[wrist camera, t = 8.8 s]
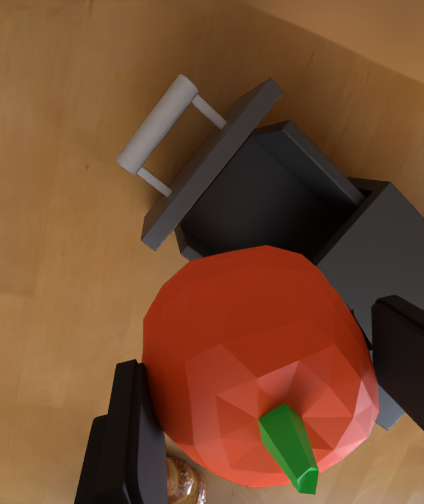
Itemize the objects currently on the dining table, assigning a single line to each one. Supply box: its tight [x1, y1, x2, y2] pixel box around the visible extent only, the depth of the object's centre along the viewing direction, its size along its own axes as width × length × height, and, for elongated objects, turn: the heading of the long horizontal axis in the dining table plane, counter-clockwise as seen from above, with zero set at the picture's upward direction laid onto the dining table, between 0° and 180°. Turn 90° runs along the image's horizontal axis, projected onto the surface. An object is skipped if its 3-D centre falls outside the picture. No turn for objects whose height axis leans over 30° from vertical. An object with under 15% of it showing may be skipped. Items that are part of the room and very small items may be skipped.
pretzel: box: [166, 456, 207, 504], centre depth 37 cm, size 12×11×4 cm
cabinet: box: [311, 177, 424, 431], centre depth 30 cm, size 16×14×10 cm
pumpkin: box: [142, 245, 379, 494], centre depth 10 cm, size 7×8×6 cm
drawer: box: [116, 74, 367, 262], centre depth 26 cm, size 19×13×8 cm, turn 50°
